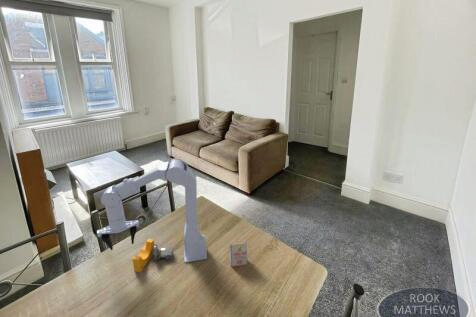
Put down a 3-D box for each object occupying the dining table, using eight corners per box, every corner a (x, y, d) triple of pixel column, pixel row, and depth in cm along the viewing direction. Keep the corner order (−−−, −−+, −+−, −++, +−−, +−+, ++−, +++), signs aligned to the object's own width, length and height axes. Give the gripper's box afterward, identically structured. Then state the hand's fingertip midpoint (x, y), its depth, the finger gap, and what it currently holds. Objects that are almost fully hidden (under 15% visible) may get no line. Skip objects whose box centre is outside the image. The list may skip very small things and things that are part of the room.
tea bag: (229, 260, 102) (229, 241, 98) (245, 258, 103) (245, 239, 99) (231, 266, 98) (230, 247, 95) (247, 264, 99) (247, 245, 96)
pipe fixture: (172, 250, 107) (171, 239, 105) (172, 260, 101) (170, 248, 99) (155, 252, 105) (154, 241, 103) (155, 263, 100) (153, 251, 98)
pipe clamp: (146, 249, 107) (144, 238, 105) (155, 251, 107) (153, 239, 104) (130, 270, 96) (128, 258, 94) (140, 272, 96) (138, 259, 93)
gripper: (135, 207, 98) (140, 234, 102) (95, 216, 91) (102, 244, 96) (137, 216, 92) (142, 244, 97) (94, 226, 86) (101, 256, 90)
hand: (122, 245), depth 96 cm, fingers open, 7 cm apart
